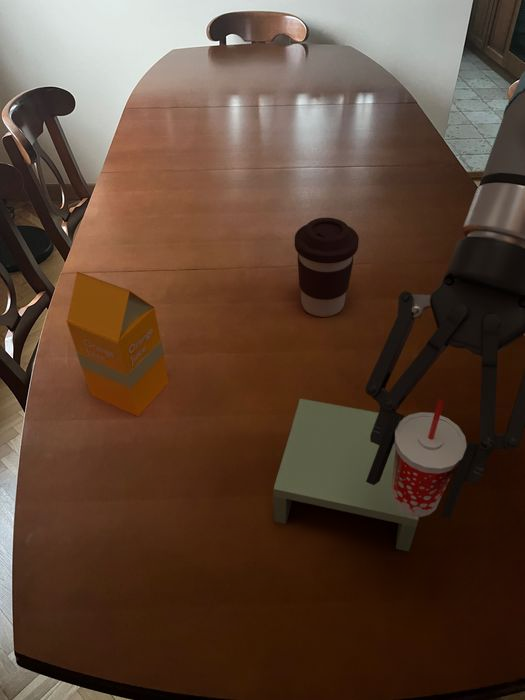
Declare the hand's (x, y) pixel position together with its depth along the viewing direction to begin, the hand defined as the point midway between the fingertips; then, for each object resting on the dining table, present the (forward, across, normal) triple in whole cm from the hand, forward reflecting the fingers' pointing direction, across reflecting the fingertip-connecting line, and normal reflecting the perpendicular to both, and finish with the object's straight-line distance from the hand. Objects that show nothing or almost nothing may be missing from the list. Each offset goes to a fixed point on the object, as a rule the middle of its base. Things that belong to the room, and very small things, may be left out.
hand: (408, 497), depth 52 cm
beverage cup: (+1, 0, -6) cm, 6 cm away
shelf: (+6, +9, -20) cm, 23 cm away
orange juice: (+6, +44, -20) cm, 49 cm away
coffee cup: (-16, +27, -43) cm, 53 cm away
